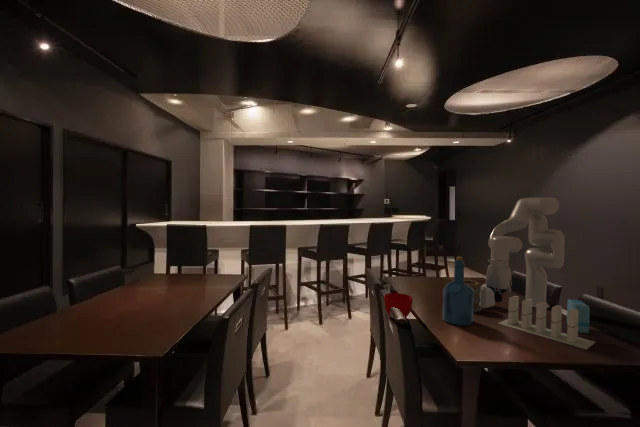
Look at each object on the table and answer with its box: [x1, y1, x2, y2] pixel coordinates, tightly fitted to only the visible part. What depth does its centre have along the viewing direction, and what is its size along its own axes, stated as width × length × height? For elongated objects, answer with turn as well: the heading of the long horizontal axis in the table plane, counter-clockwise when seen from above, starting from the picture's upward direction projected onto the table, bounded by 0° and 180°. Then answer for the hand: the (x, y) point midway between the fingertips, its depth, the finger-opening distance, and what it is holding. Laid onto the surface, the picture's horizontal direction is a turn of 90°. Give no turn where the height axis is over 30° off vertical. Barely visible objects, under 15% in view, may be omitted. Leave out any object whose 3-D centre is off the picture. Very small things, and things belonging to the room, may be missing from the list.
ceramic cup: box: [383, 292, 414, 318], centre depth 152 cm, size 13×17×10 cm
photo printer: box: [479, 283, 496, 309], centre depth 171 cm, size 10×4×12 cm, turn 123°
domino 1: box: [507, 295, 520, 325], centre depth 145 cm, size 6×2×12 cm, turn 127°
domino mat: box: [497, 318, 596, 350], centre depth 135 cm, size 12×32×1 cm, turn 36°
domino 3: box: [535, 302, 548, 333], centre depth 136 cm, size 6×2×12 cm, turn 126°
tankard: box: [443, 275, 483, 313], centre depth 170 cm, size 20×13×15 cm, turn 35°
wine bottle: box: [441, 256, 475, 327], centre depth 146 cm, size 14×13×30 cm
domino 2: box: [520, 298, 533, 329], centre depth 140 cm, size 6×2×12 cm, turn 126°
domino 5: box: [566, 309, 579, 343], centre depth 127 cm, size 6×2×12 cm, turn 126°
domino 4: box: [550, 304, 563, 338], centre depth 132 cm, size 6×2×12 cm, turn 126°
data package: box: [566, 298, 591, 335], centre depth 140 cm, size 12×4×12 cm, turn 158°
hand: (498, 301), depth 150 cm, fingers closed
